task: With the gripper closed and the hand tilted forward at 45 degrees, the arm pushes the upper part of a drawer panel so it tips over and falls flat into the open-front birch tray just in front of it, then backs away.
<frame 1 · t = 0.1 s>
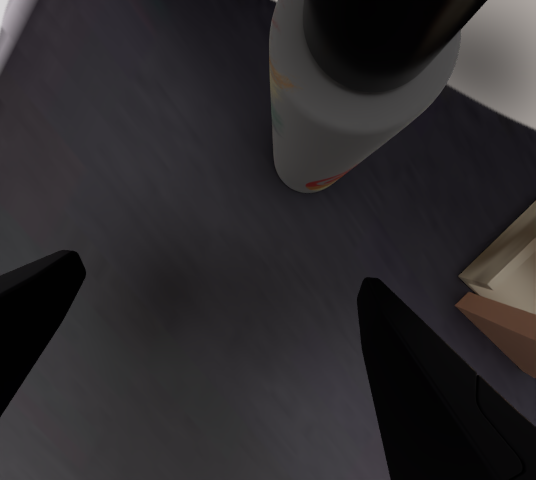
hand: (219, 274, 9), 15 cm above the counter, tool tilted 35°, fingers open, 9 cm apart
drawer panel: (495, 331, 23), on the counter
lotion bottle: (307, 160, 23), on the counter
tray: (531, 298, 23), on the counter
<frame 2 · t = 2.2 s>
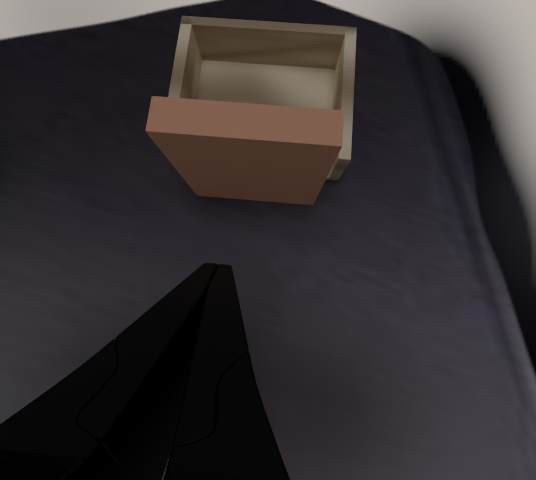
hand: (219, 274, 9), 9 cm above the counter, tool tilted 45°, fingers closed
drawer panel: (255, 189, 19), on the counter
tray: (261, 136, 20), on the counter
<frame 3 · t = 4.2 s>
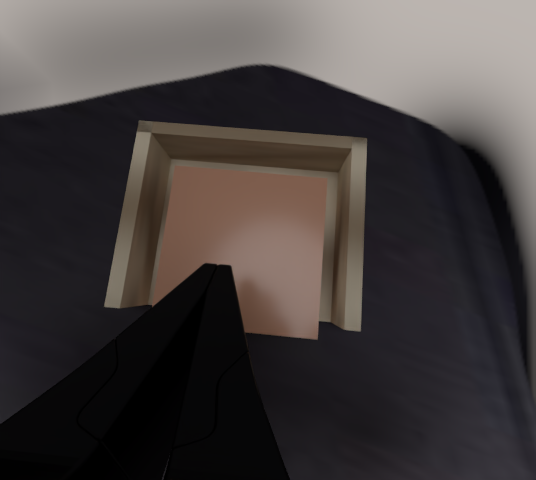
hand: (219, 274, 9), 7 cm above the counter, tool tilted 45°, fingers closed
drawer panel: (234, 328, 14), point 1 cm above the counter, tilted 90°, touching tray
tray: (244, 259, 16), on the counter
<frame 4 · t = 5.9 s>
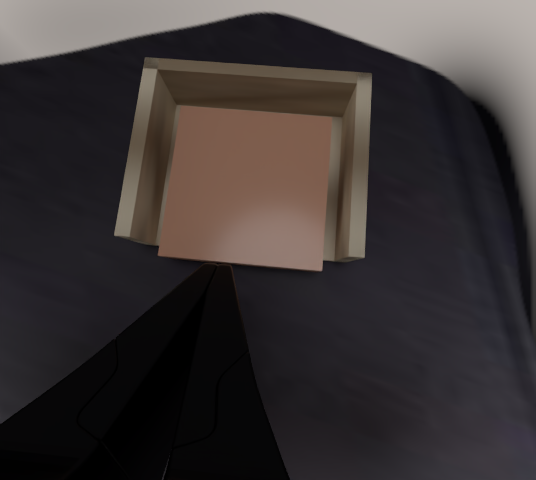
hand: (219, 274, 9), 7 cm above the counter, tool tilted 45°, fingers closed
drawer panel: (241, 264, 14), point 1 cm above the counter, tilted 90°, touching tray
tray: (250, 203, 16), on the counter
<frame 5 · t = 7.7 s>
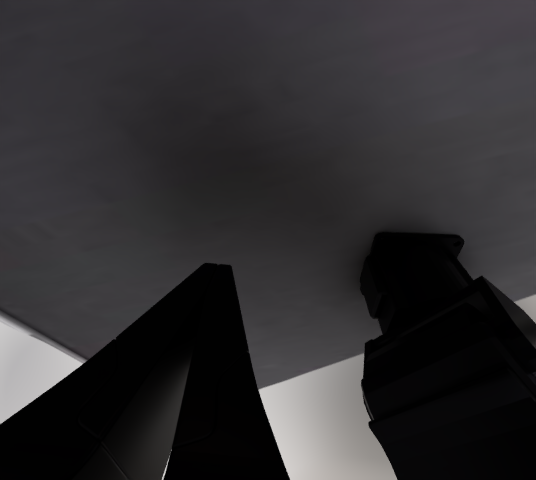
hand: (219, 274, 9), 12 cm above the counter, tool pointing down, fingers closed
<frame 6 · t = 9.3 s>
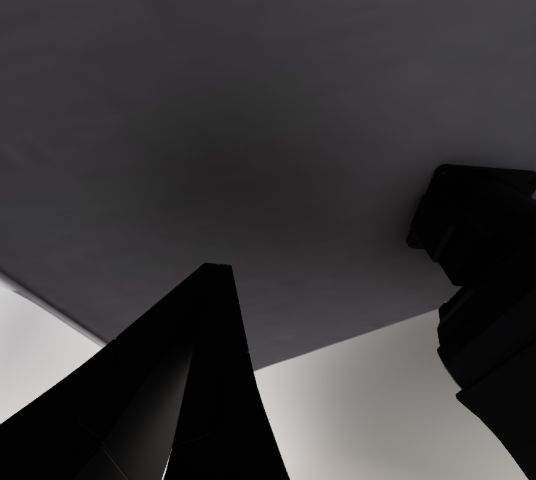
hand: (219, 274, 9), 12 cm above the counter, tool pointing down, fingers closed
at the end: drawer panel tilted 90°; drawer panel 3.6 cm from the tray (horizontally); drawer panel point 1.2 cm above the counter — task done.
